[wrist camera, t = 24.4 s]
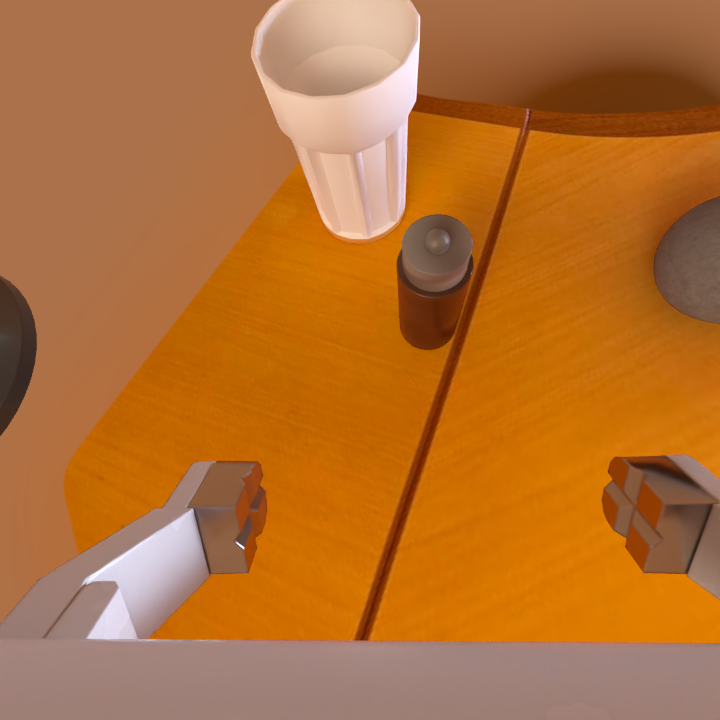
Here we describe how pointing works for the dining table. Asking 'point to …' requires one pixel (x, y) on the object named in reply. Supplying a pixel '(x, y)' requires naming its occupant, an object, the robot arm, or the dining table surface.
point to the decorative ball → (692, 263)
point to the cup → (345, 103)
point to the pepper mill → (433, 279)
